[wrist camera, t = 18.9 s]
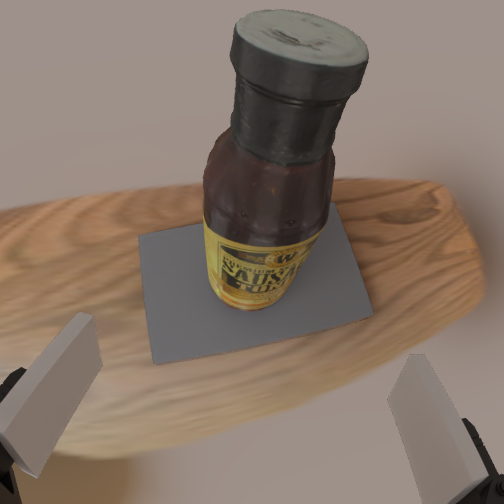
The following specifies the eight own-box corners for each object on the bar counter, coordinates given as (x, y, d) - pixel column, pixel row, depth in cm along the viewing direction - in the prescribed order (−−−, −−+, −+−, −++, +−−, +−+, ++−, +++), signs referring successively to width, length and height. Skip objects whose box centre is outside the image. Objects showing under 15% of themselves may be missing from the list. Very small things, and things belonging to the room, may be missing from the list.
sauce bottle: (220, 324, 23) (183, 108, 5) (201, 251, 26) (162, 7, 8) (301, 302, 24) (441, 95, 6) (277, 234, 27) (338, 1, 9)
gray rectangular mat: (157, 364, 23) (153, 363, 22) (142, 242, 27) (138, 235, 26) (367, 318, 26) (374, 314, 24) (329, 210, 30) (333, 202, 29)
